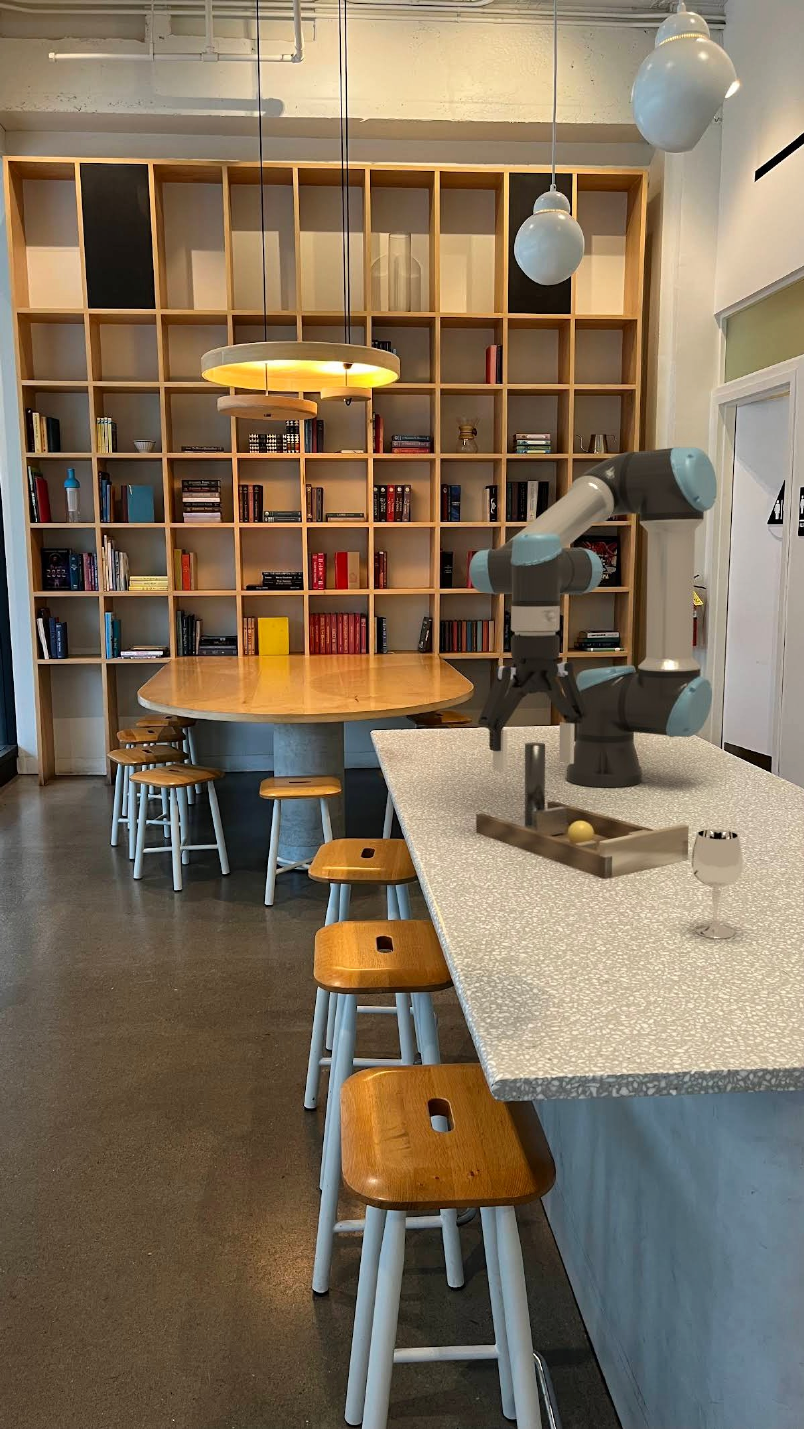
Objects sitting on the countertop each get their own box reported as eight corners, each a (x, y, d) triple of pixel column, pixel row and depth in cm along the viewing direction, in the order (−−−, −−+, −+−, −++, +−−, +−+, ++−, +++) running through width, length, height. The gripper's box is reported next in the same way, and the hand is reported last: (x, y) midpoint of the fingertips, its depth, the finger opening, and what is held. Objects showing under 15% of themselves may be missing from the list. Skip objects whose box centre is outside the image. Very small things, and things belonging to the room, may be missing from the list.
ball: (561, 845, 156) (562, 820, 155) (581, 841, 158) (582, 816, 157) (579, 851, 153) (579, 825, 152) (599, 847, 155) (599, 821, 154)
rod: (501, 829, 165) (500, 744, 163) (544, 821, 169) (544, 738, 167) (529, 839, 159) (529, 751, 157) (573, 831, 163) (574, 744, 161)
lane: (476, 839, 165) (476, 802, 164) (552, 825, 173) (553, 789, 172) (605, 887, 139) (605, 843, 139) (687, 867, 148) (688, 826, 147)
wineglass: (682, 924, 125) (685, 829, 123) (728, 922, 125) (731, 827, 123) (700, 941, 119) (703, 841, 117) (748, 939, 119) (751, 839, 118)
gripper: (485, 637, 150) (484, 779, 153) (611, 631, 163) (608, 762, 166) (456, 635, 157) (456, 771, 159) (579, 629, 170) (577, 755, 172)
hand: (533, 767), depth 163 cm, fingers open, 13 cm apart
